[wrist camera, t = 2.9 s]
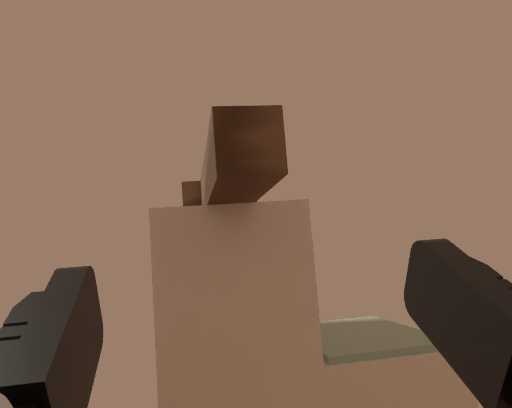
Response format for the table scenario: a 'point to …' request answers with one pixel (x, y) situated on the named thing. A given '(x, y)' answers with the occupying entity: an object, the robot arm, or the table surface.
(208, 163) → the walnut T-handle
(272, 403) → the stepped stand
